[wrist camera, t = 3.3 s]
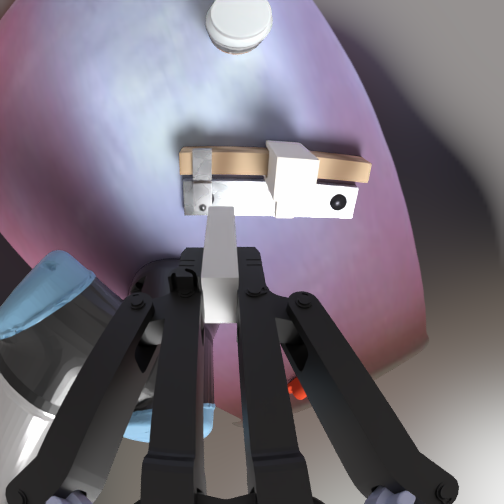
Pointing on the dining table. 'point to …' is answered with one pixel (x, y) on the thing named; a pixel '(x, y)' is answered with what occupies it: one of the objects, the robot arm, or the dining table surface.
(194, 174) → the fixed leg
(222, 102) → the dining table surface
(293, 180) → the block
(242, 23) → the pill bottle
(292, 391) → the bracket
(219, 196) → the hole plate
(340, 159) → the beam
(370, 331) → the dining table surface
